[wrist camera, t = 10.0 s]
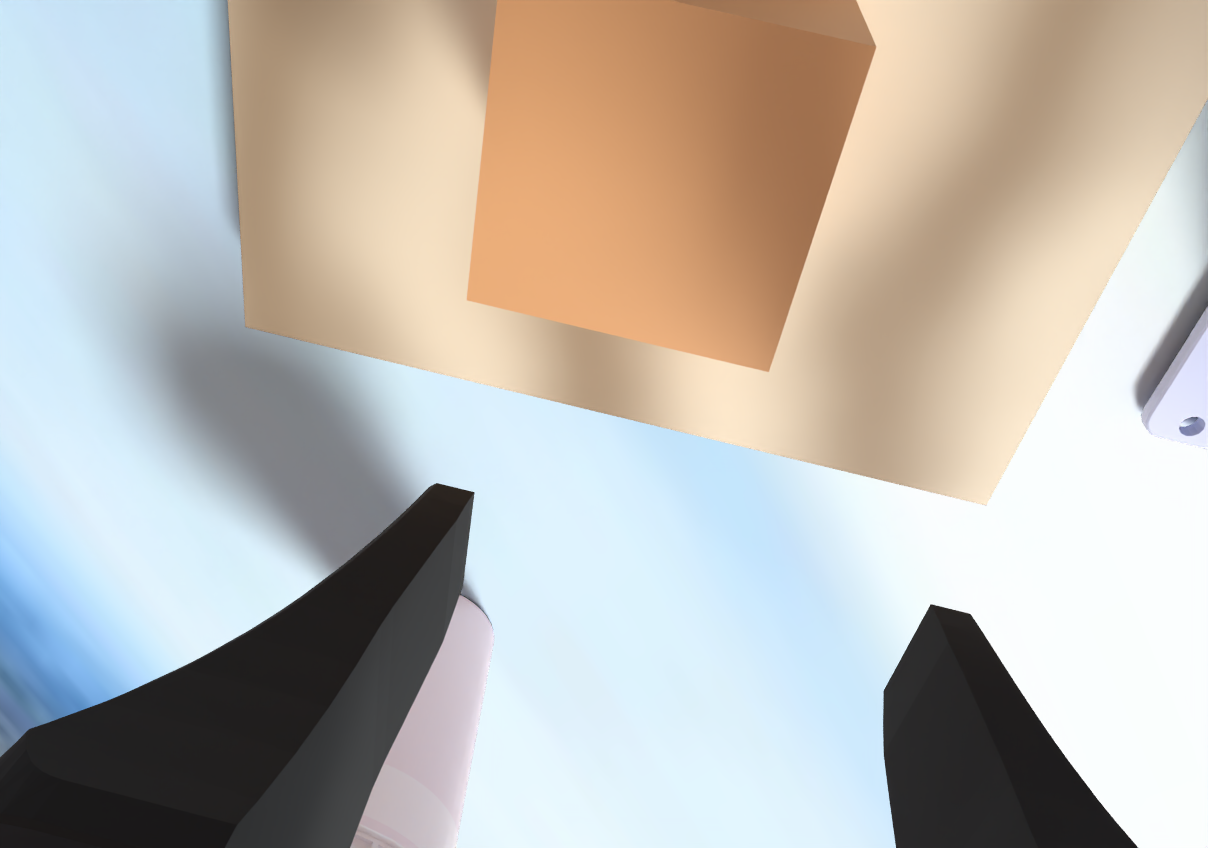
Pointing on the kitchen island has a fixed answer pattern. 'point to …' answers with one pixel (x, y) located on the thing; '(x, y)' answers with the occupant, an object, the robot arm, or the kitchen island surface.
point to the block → (662, 163)
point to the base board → (836, 256)
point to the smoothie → (433, 745)
